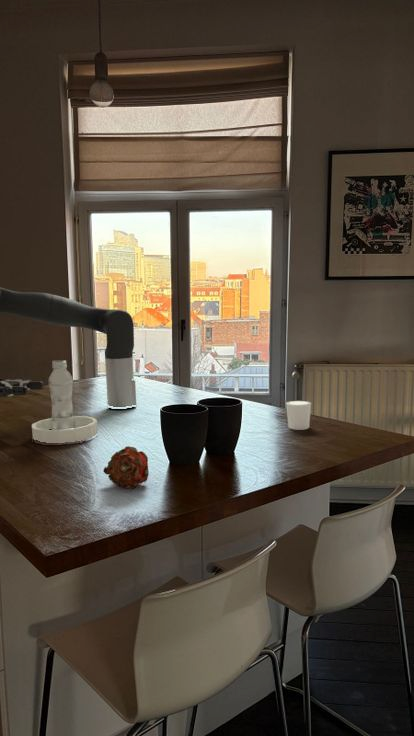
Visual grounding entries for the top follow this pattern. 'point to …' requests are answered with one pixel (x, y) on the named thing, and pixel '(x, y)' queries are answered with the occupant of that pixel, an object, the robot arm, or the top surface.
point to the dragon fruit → (128, 468)
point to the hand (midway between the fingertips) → (35, 388)
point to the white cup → (298, 414)
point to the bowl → (65, 431)
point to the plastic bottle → (61, 397)
